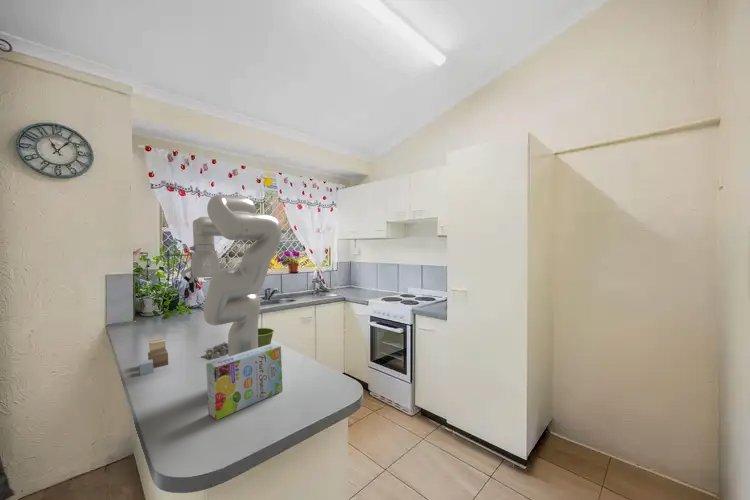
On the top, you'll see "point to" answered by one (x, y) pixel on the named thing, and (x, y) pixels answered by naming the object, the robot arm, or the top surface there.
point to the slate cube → (146, 367)
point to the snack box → (243, 379)
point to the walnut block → (159, 359)
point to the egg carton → (217, 350)
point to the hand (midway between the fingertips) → (205, 291)
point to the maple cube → (157, 346)
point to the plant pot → (264, 336)
